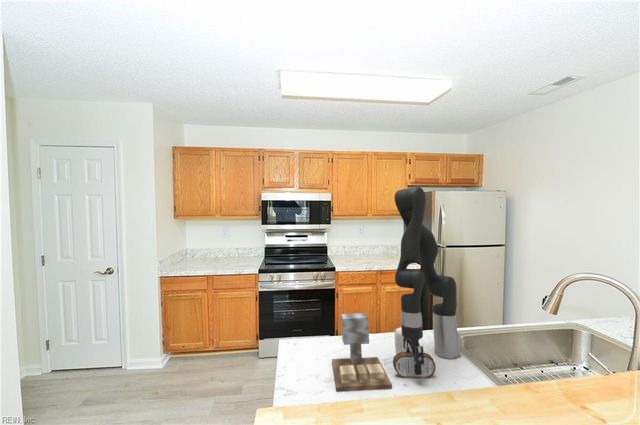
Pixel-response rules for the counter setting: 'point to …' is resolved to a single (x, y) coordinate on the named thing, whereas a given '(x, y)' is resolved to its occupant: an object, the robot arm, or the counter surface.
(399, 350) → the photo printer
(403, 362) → the tin
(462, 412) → the counter surface
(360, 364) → the display stand
